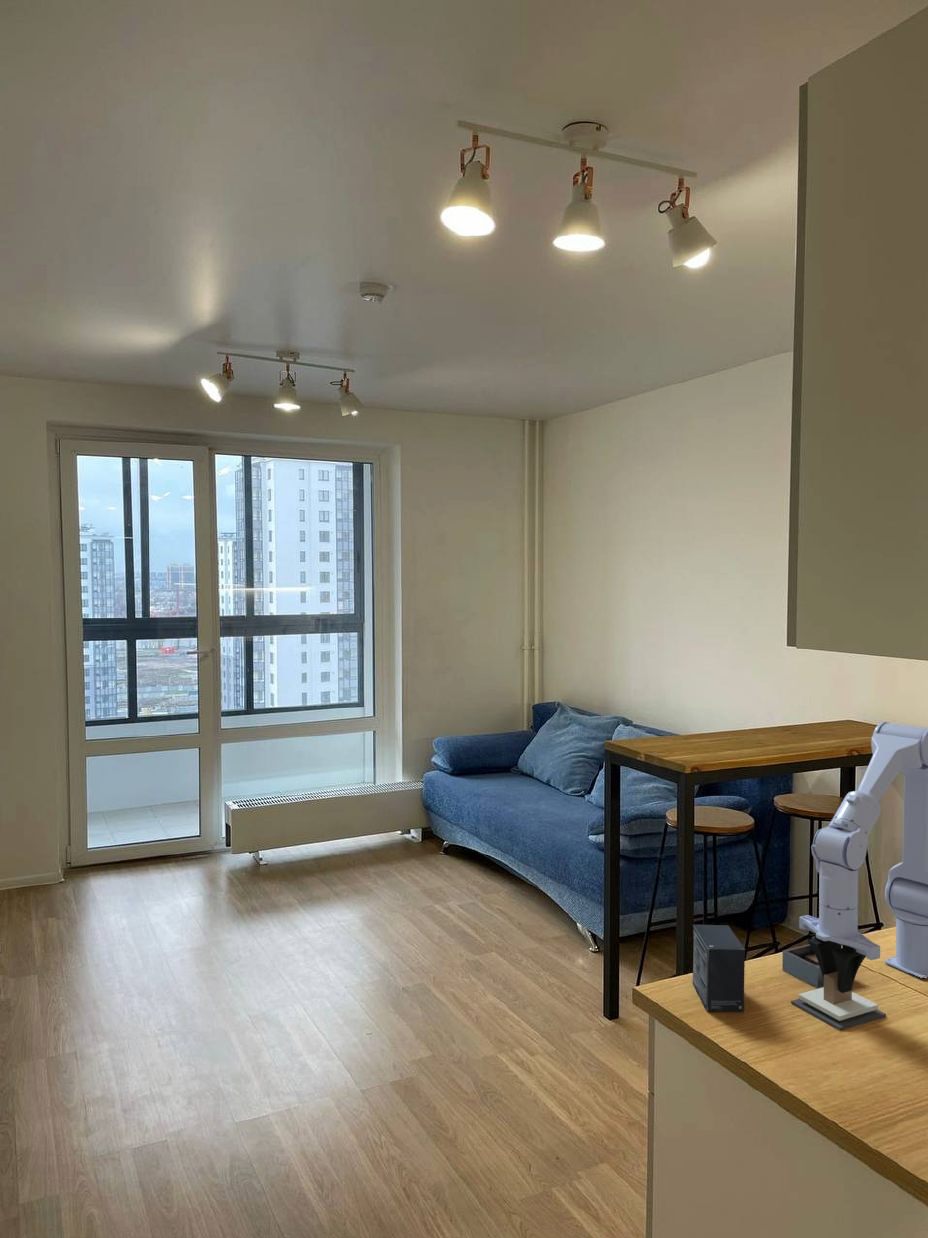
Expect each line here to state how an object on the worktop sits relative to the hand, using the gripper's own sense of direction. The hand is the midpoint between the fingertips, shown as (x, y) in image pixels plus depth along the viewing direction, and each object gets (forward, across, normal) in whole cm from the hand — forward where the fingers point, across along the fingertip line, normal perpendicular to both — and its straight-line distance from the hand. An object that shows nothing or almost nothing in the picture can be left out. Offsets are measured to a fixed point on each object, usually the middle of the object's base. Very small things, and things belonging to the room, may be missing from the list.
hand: (837, 986), depth 148 cm
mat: (+4, 0, 0) cm, 4 cm away
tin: (+4, -11, +7) cm, 14 cm away
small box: (+4, -12, -14) cm, 19 cm away
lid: (+3, 0, 0) cm, 3 cm away
